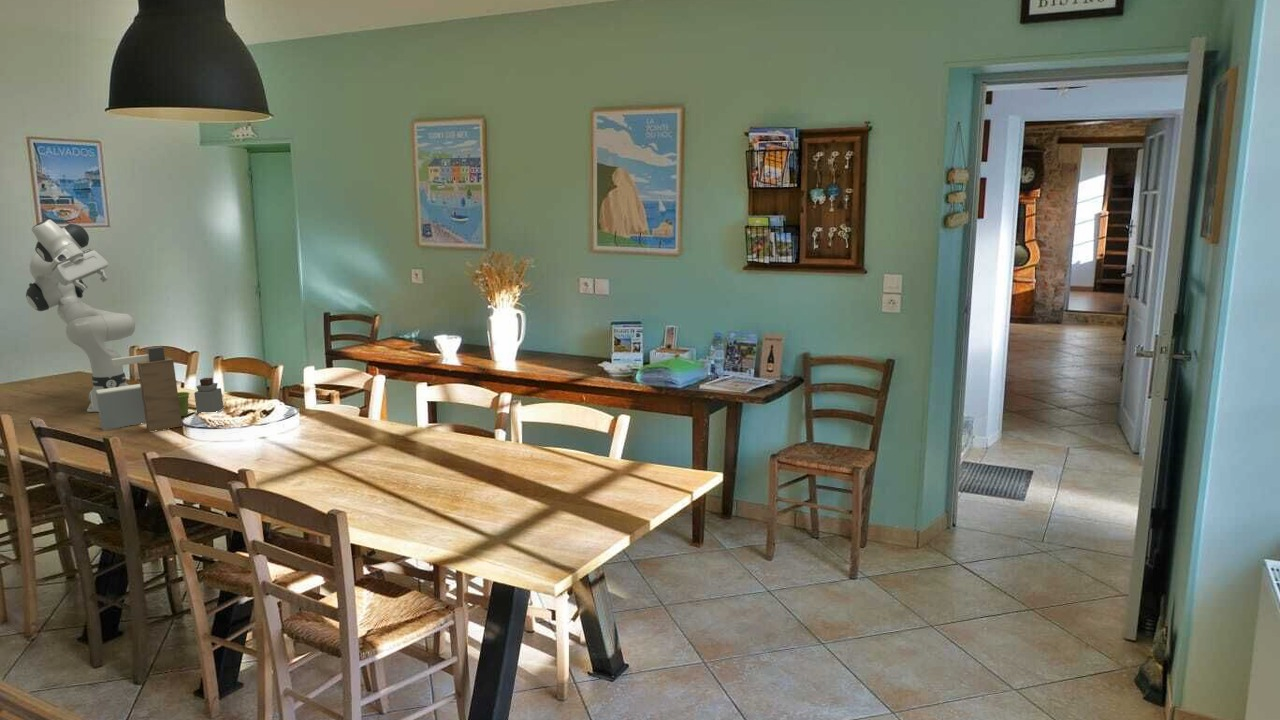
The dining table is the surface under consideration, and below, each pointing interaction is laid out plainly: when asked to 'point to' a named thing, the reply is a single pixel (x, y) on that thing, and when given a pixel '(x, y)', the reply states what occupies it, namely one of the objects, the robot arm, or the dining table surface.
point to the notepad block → (120, 406)
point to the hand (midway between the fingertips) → (95, 284)
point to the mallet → (141, 357)
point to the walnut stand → (159, 394)
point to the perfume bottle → (208, 396)
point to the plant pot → (183, 402)
